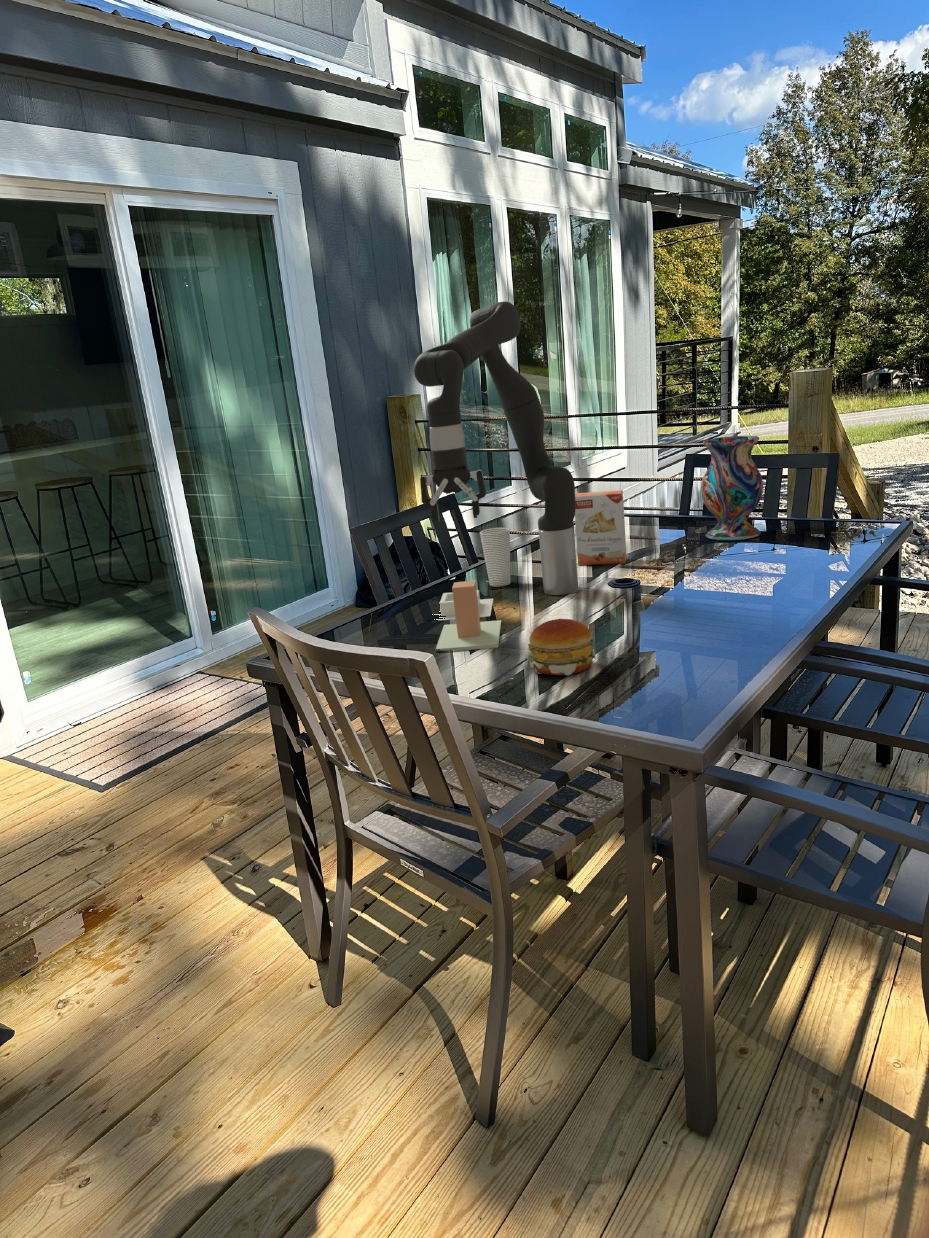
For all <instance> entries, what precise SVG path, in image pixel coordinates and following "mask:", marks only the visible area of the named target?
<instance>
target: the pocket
mask: <svg viewBox="0 0 929 1238" xmlns="http://www.w3.org/2000/svg"><path fill="white" fill-rule="evenodd" d="M477 598H478V607H479V616H480V618H484V617H491V613H492V609H493V605H494V598H484V599H481V597H480V590H479V589H477ZM438 603H439V604H440V611H439V612H441V614H434V615H439V616H440V615H441V616H446V617H439V618H443V619H436V620H438V621H449V620H456V616H455V608H454V600H453V591H452V592H443V593H442V596H441V599H440V601H439V602H438ZM432 615H433V614H432ZM444 618H445V619H444ZM434 620H435V619H434Z"/></svg>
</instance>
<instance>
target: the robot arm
mask: <svg viewBox="0 0 929 1238" xmlns="http://www.w3.org/2000/svg"><path fill="white" fill-rule="evenodd" d="M469 316H470V317H469V326H470V327H469V328H467V329H465V330H463V331H461V332H459V333H457V334H456V335H454V336H453V337H451V338H450V339H448V340H447V341H446V342H445V343H443V344H440V345H436V346H434V347H433V348H430V349H427V350H425V351H424V352H422V353H421V354H419V355H418V356H417V358H416V359H415V362H414V364H413V374H414V378H415V380H416V381H417V382H418V383H419V384H421V385H422V386H424V387H441V386H443V388H442V391H441V394H440V395H439V396H437V397H434V398H431V399H430V400H428V402H427V405H426V406H427V407H426V412H427V418H428V425H429V446H430V451H431V452H430V453H431V461H432V468H433V469H432V470H433V474H432V475H421V476H420V478H419V480H420V481H419V482H420V497H421V502H422V504H424V505H425V504H426V505H429V506H430V509H431V518H432V520H435V523H440V520H441V518H440V510H439V504H438V503H437V502H438V500H439V499H440V497H441V495H442V493H443V494H446V495H449V494H452V493H461V492H463V493H465V494H466V495H467V496H468V497H469V498H470V499H471V500H472V501H471V507H472V514H473V519H478V516H479V515H480V510H481V509H480V500H481V499H482V498H486V495H487V491H486V485H485V479H484V474H483V470H482V469H477V470H473V471H470V470H469V468H468V467H469V466H468V459H467V450H466V441H465V434H464V433H465V432H464V430H463V424H462V418H461V409H460V403H461V392H462V386H463V384H462V383H463V379H464V371H465V370H466V369H467V368H468V367H470V365H473V363H474V362H476V361H477V360H478V359H479V358H482V359H483V361H484V363H485V366H486V368H487V371H488V373H489V374H490V377H491V380H492V383H493V384H494V387H495V390H496V393H497V395H498V398H499V401H500V404H501V408H502V410H503V413H504V415H505V419H506V420H507V423H508V427H509V428H510V431H511V433H512V436H513V439H514V441H515V444H516V448H517V450H518V452H519V455H520V458H521V462H522V466H523V470H524V474H525V477H526V481H527V485H528V488H529V490H530V493H531V494H532V496H533V497H534V498H535V499H537V500H539V501H542V502H544V513H543V515H542V516H540V517H539V518H538V519H537V529H538V539H539V550H540V562H541V563H540V564H541V573H542V575H541V576H542V586H543V593H544V594H546V595H550V596H562V595H564V596H565V595H569V594H573V593H578V592H580V590H579V589H580V588H579V578H578V566H577V565H578V564H577V563H578V560H577V551H576V542H575V541H576V540H575V530H574V521H575V511H576V507H575V494H576V486H575V480H574V476H573V474H572V472H571V471H570V470H569V469H567V468H565V467H563V466H556V465H555V466H553V464H552V463H551V461H550V458H549V456H548V455H549V454H548V452H547V450H546V447H545V444H544V443H545V442H544V440H545V439H544V436H545V435H544V432H545V414H544V409H543V406H542V403H541V400H540V398H539V396H538V393H537V390H536V388H535V387H534V386H533V384H532V383H531V382H530V381H529V380H527V378H526V377H524V376H523V375H522V374H521V373H519V372H518V371H517V370H516V369H515V368H514V367H513V366H512V365H511V364H510V363H509V362H508V361H507V359H506V358H505V356H504V354H503V351H502V350H501V348H500V346H499V345H501V344H505V343H508V342H510V341H513V340H514V339H515V338H517V336H518V335H519V334H520V331H521V328H522V327H521V323H522V321H521V318H520V314H519V312H518V309H517V308H516V306H515V305H514V304H513V303H512V302H509V301H506V300H505V301H498V302H495V303H493V304H490V305H487V306H485V307H481V308H478V309H477V310H474V311H472V313H471V314H470V315H469ZM470 478H473V480H474V481H475V482H476V481H477V485H478V486H477V487H478V491H479V492H477V493H476V492H475V491H474V489H473V488H472V487H471V486H470V484H468V482H469V480H470ZM431 482H433V483H434V484H435V486H437V489H436V491H435V493H434V494H433V496H432V497H429V491H428V490H429V486H430V485H431Z"/></svg>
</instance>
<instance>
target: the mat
mask: <svg viewBox="0 0 929 1238" xmlns="http://www.w3.org/2000/svg"><path fill="white" fill-rule="evenodd" d="M480 625H481V632H480V636H478V637H466V638H458V633H457V625H456V623H452V624H450V623H449V624H444V625H443V627H442V630H441V633H440V636H439V638H438V641H437V644H436V646H435V650H436V649H437V650H438V649H440V650H460V651H469V650H470V651H471V650H473V651H474V650H484V649H485V650H487V649H496V648H497V649H498V648H499V644H500V637H501V628H502V627H501V626H502V619H498V620H488V621H486V620H485V621H480Z"/></svg>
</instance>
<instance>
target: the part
mask: <svg viewBox="0 0 929 1238" xmlns="http://www.w3.org/2000/svg"><path fill="white" fill-rule="evenodd" d="M451 589H452V590H451V591H452V592H453V600H454V608H455V616H456V619H455V624H456V625H457V633H458V638H466V637H478V636H480V632H481V625H480V622H481V617H480V616H479V607H478V598H477V590H478V589H477V582H476V580H467V581H458V582H457V581H456V582H453V585H452V588H451Z"/></svg>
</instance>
